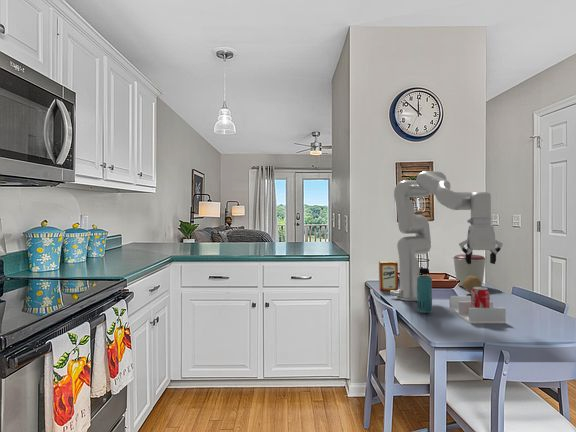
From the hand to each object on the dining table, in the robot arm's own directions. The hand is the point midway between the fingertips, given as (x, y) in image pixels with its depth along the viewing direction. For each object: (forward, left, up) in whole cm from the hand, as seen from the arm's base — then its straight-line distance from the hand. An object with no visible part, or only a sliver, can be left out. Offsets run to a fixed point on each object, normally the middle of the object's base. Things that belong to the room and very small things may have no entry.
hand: (480, 263), depth 170 cm
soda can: (0, 0, -22) cm, 22 cm away
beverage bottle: (-20, +9, -23) cm, 32 cm away
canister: (+23, +70, -23) cm, 77 cm away
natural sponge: (+16, +48, -23) cm, 55 cm away
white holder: (0, +5, -23) cm, 24 cm away
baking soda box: (-25, +62, -23) cm, 71 cm away
